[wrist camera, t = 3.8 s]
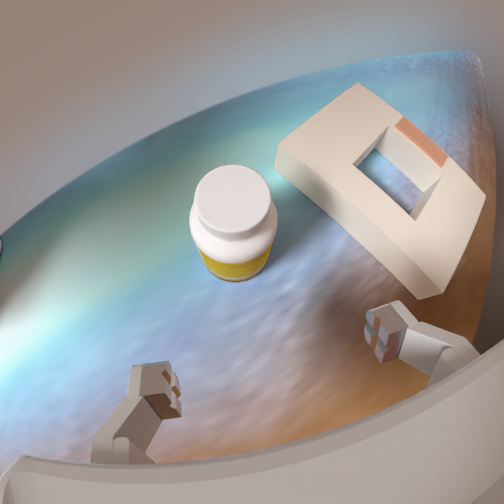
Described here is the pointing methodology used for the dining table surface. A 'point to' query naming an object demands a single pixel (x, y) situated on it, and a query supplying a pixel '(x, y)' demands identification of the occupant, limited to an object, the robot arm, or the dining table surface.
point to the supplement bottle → (233, 222)
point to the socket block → (375, 199)
